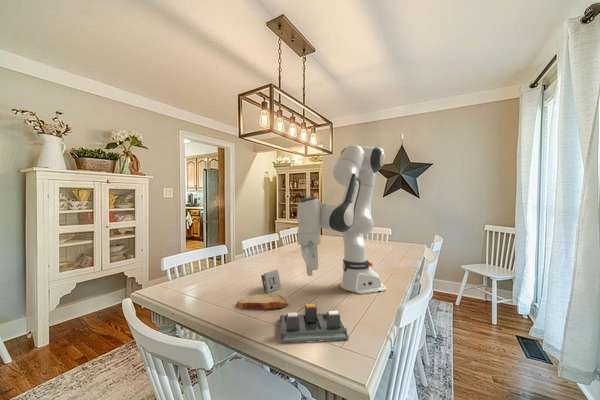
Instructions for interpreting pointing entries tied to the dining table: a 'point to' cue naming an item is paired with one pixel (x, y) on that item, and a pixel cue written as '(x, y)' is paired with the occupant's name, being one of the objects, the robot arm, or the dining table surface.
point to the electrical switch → (271, 281)
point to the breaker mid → (310, 313)
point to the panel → (311, 330)
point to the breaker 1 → (292, 322)
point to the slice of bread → (262, 302)
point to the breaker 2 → (333, 320)
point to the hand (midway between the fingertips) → (309, 274)
